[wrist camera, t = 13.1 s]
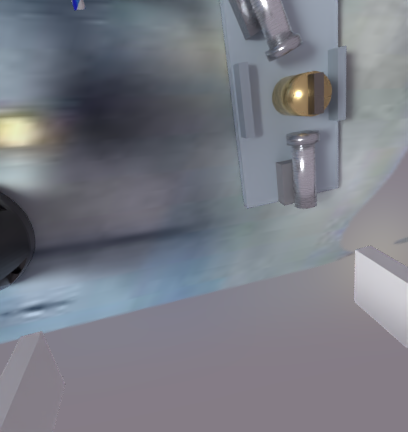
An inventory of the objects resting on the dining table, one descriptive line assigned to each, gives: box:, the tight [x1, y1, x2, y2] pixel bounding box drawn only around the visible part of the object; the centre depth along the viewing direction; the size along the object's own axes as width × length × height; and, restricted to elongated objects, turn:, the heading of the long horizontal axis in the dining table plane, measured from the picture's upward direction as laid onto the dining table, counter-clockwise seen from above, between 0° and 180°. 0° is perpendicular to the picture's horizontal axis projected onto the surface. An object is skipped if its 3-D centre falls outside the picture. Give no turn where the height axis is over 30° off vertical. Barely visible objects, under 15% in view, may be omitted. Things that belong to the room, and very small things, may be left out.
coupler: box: [272, 71, 332, 117], centre depth 38 cm, size 5×5×7 cm
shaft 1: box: [229, 0, 303, 62], centre depth 35 cm, size 5×10×6 cm, turn 29°
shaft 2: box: [286, 130, 320, 208], centre depth 42 cm, size 4×10×4 cm, turn 9°
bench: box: [220, 0, 346, 209], centre depth 41 cm, size 15×30×4 cm, turn 9°
